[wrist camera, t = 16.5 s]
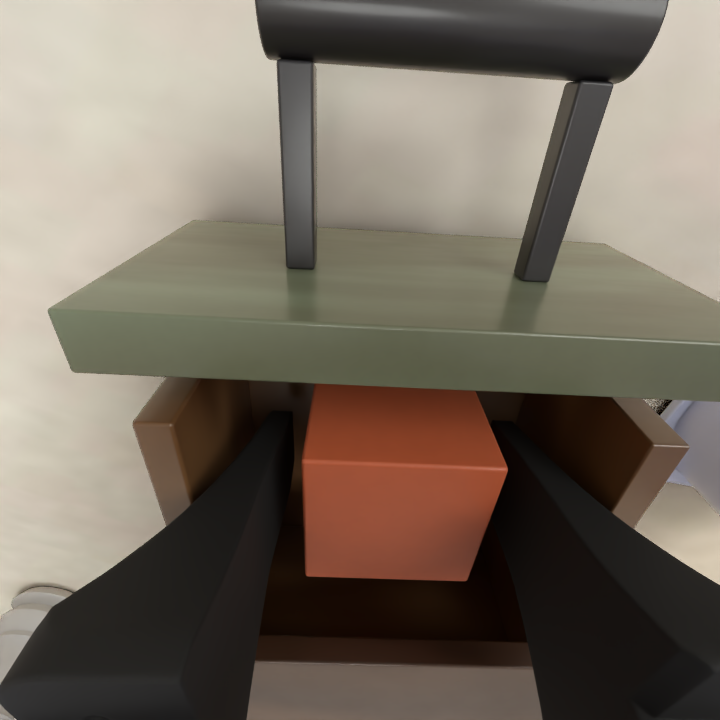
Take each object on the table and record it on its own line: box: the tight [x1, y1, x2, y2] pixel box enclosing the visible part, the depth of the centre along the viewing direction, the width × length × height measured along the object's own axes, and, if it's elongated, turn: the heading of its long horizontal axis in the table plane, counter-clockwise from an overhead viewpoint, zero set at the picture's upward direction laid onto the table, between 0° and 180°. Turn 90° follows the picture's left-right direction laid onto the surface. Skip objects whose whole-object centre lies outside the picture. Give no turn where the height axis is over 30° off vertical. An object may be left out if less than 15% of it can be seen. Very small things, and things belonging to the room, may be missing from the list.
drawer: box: [48, 0, 720, 642], centre depth 11 cm, size 18×12×6 cm, turn 177°
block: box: [301, 384, 508, 581], centre depth 11 cm, size 4×4×5 cm
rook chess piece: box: [0, 586, 73, 720], centre depth 21 cm, size 4×4×8 cm
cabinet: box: [247, 635, 543, 720], centre depth 18 cm, size 14×13×8 cm
